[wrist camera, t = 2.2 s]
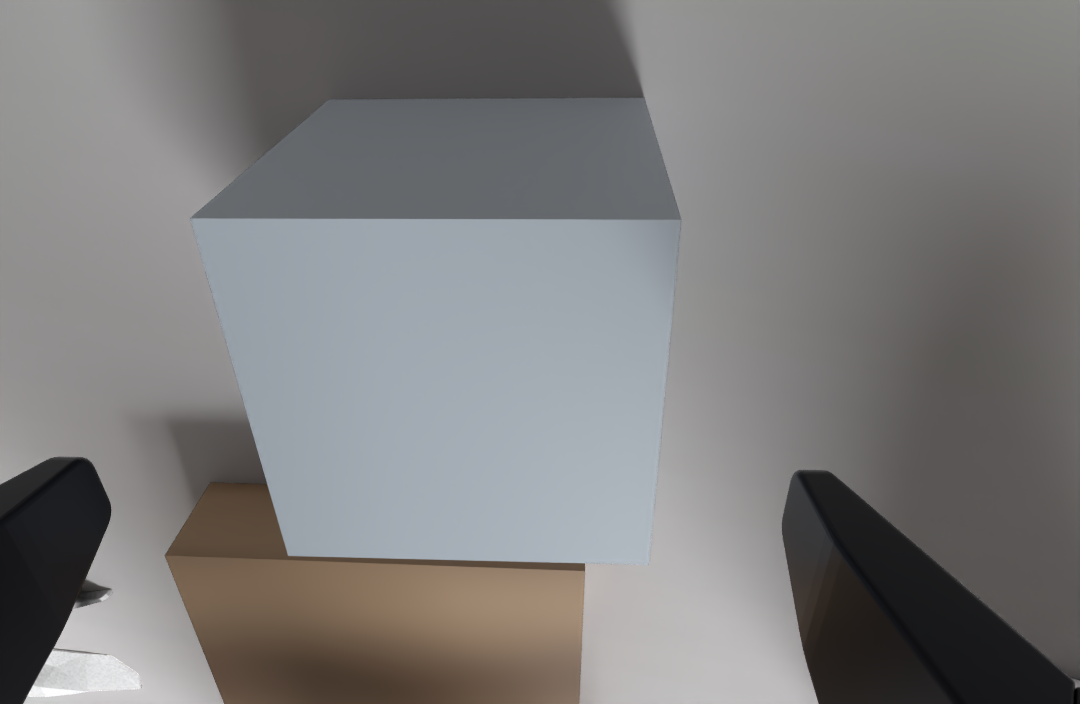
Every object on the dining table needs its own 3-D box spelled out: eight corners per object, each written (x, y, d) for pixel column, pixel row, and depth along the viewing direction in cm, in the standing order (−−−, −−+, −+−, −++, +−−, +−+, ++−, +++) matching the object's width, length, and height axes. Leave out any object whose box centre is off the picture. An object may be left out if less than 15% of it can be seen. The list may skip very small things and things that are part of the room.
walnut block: (576, 702, 25) (575, 794, 22) (286, 688, 25) (254, 777, 23) (584, 482, 20) (584, 571, 17) (218, 470, 20) (164, 555, 17)
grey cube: (628, 362, 17) (648, 565, 12) (373, 359, 17) (288, 555, 12) (644, 97, 14) (681, 220, 9) (329, 97, 14) (190, 218, 9)
